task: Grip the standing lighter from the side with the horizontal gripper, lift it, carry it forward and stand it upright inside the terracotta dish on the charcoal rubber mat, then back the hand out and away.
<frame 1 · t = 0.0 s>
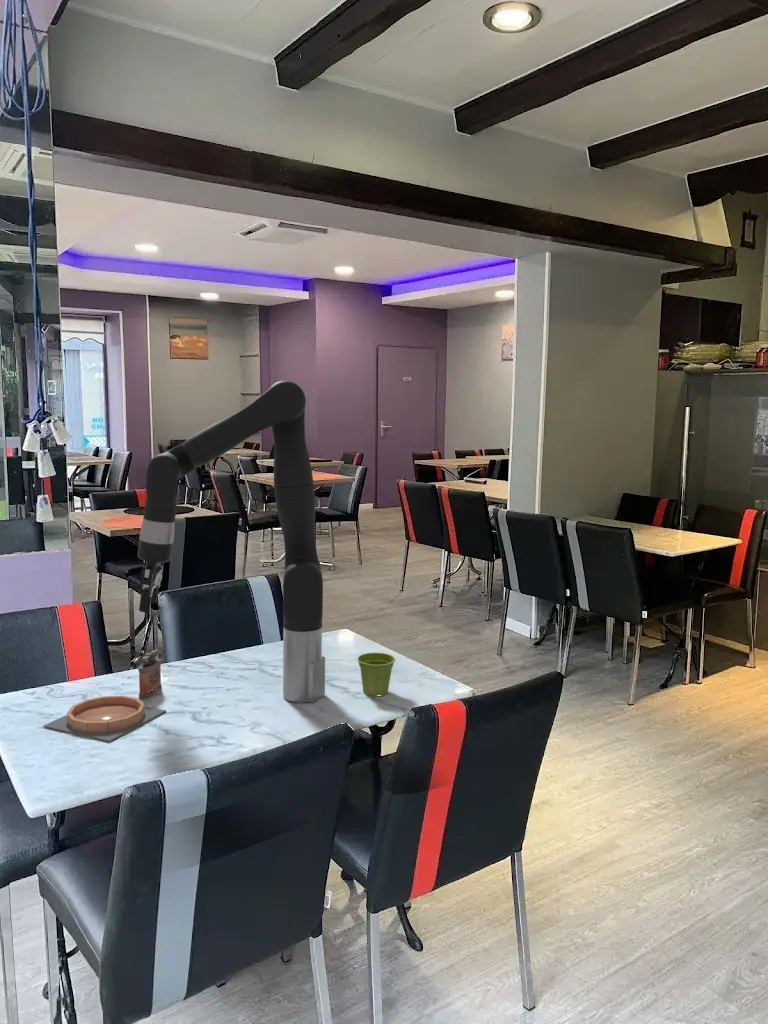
hand: (147, 607, 178), 22 cm above the table, tool pointing down, fingers open, 8 cm apart
mat: (106, 719, 169), on the table
dish: (106, 713, 169), on the mat
lighter: (150, 694, 185), on the table
plant pot: (375, 693, 189), on the table
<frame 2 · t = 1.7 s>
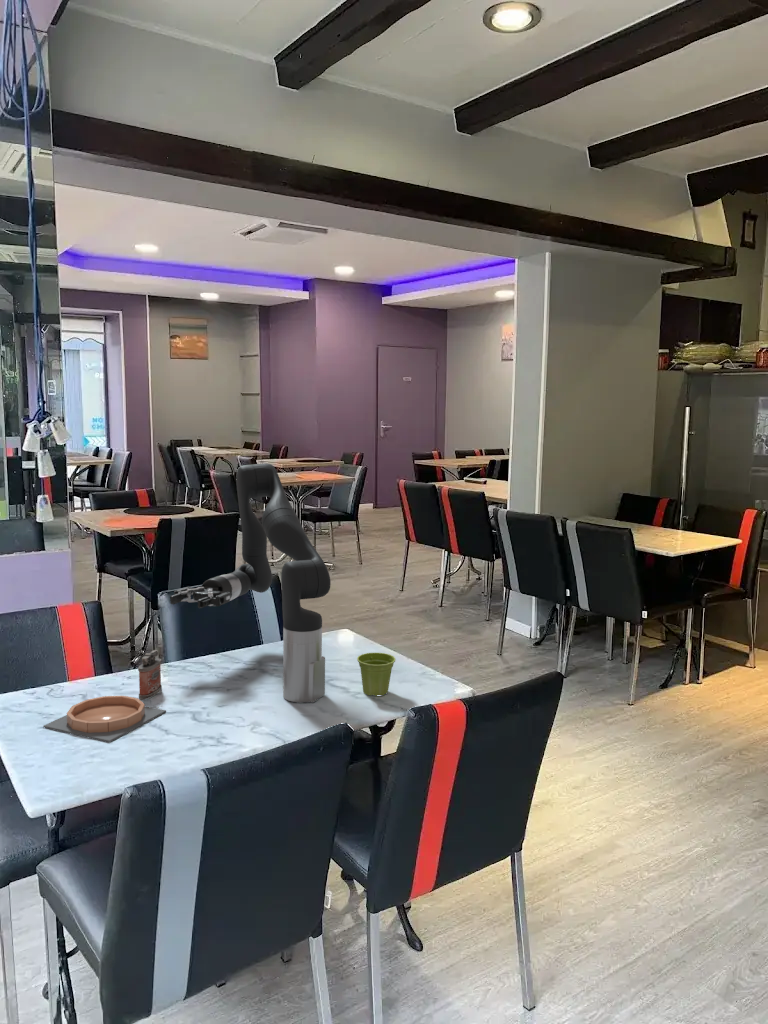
hand: (185, 602, 195), 19 cm above the table, tool horizontal, fingers open, 8 cm apart
nothing on the table moved.
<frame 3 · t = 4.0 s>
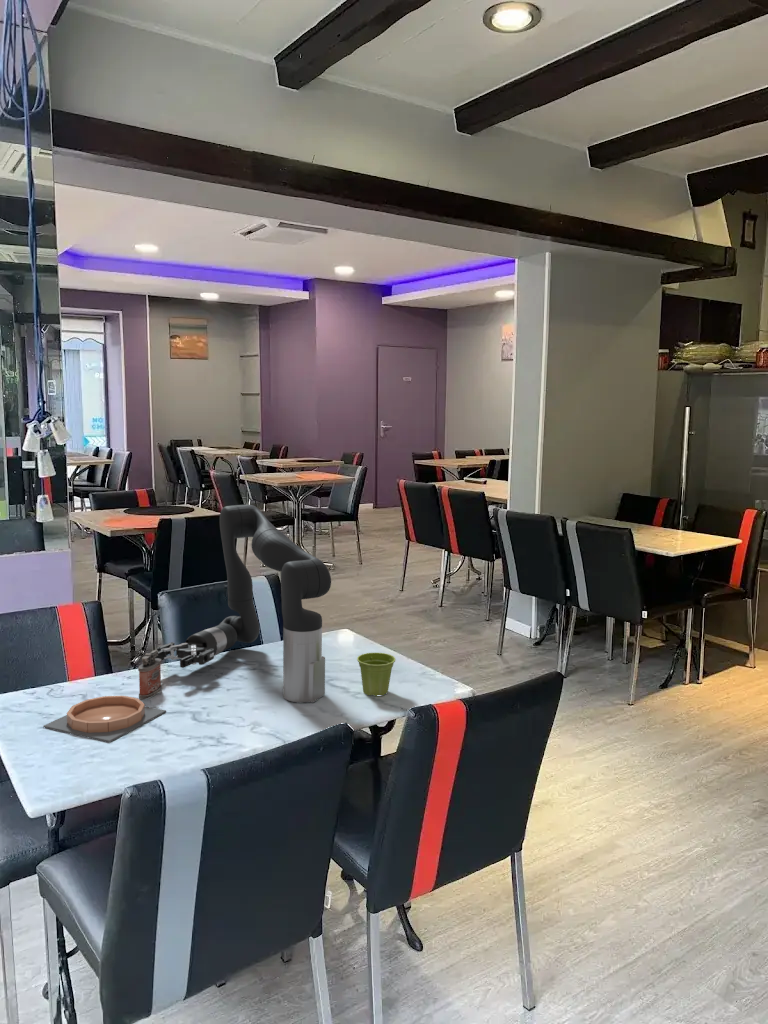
hand: (167, 661, 190), 6 cm above the table, tool horizontal, fingers open, 8 cm apart
nothing on the table moved.
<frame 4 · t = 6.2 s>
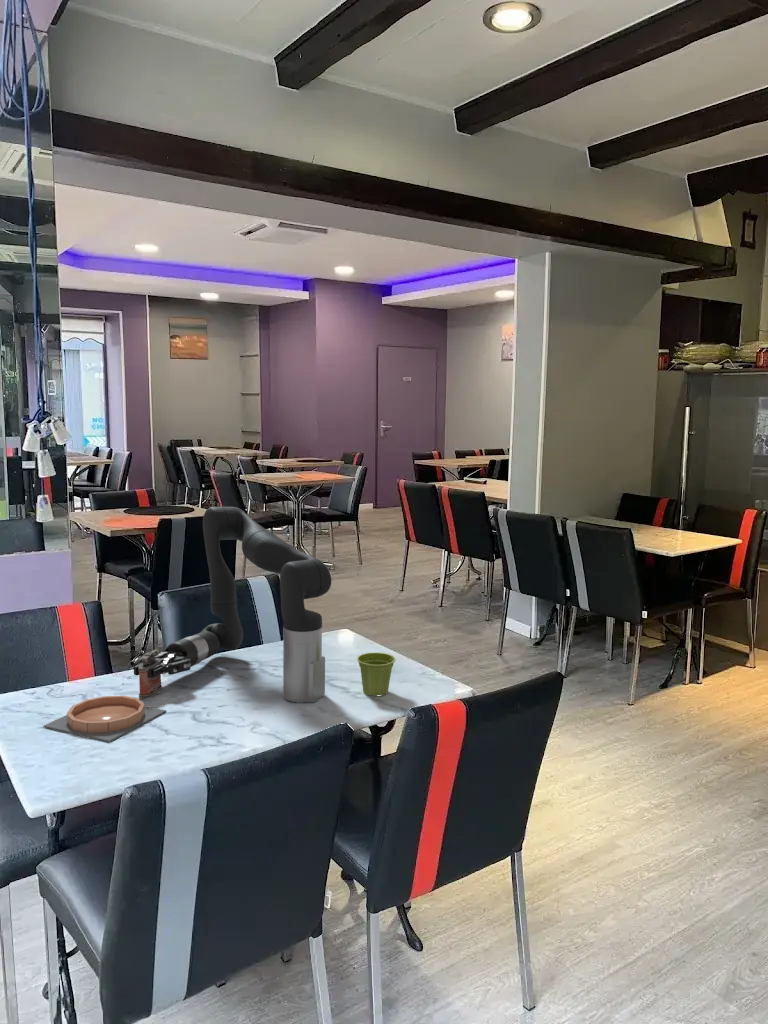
hand: (142, 672, 182), 6 cm above the table, tool horizontal, fingers closed on lighter, 3 cm apart
lighter: (150, 693, 185), on the table, touching gripper
everything else where it was.
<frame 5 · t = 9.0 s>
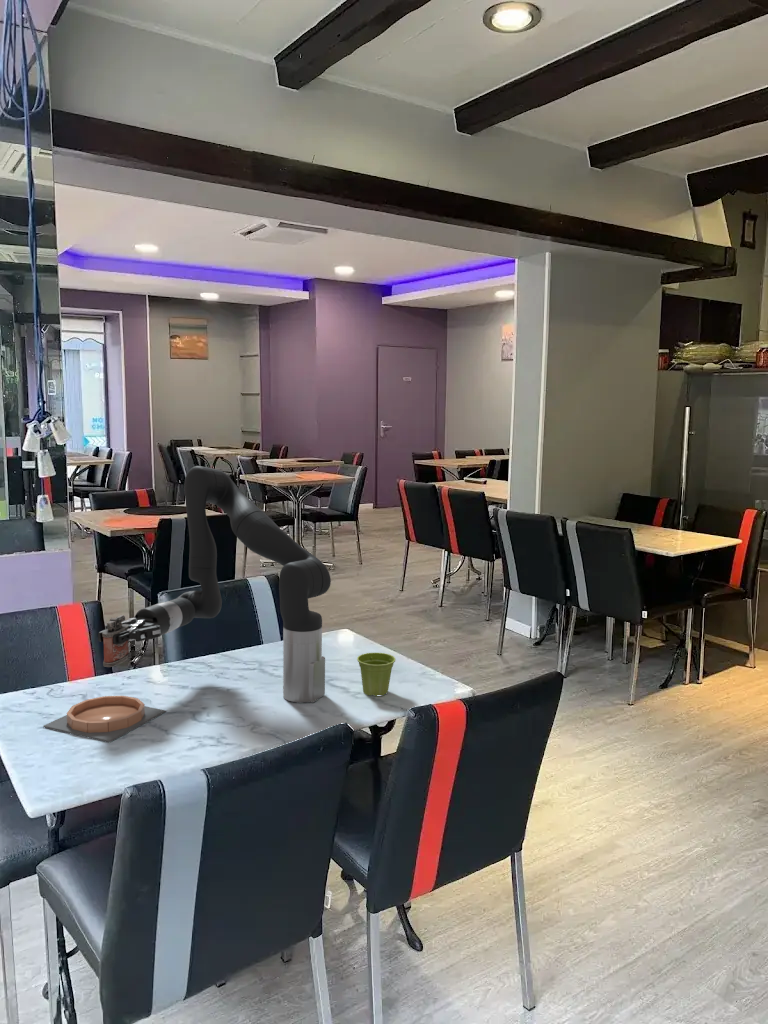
hand: (107, 638, 169), 18 cm above the table, tool horizontal, fingers closed on lighter, 3 cm apart
lighter: (116, 661, 172), point 12 cm above the table, touching gripper
everything else where it was.
when the fingers open (8 cm above the table, at t = 11.6 s): lighter stays where it is, resting on dish.
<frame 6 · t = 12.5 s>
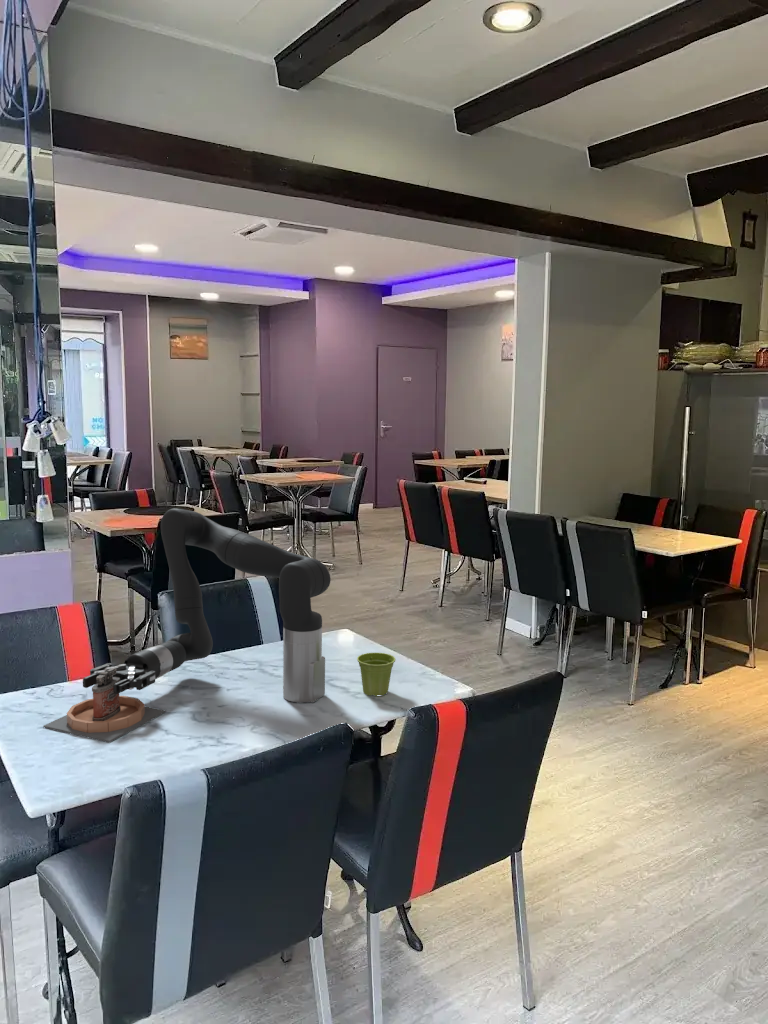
hand: (99, 686, 166), 8 cm above the table, tool horizontal, fingers open, 8 cm apart
lighter: (106, 716, 169), point 1 cm above the table, touching dish
everything else where it was.
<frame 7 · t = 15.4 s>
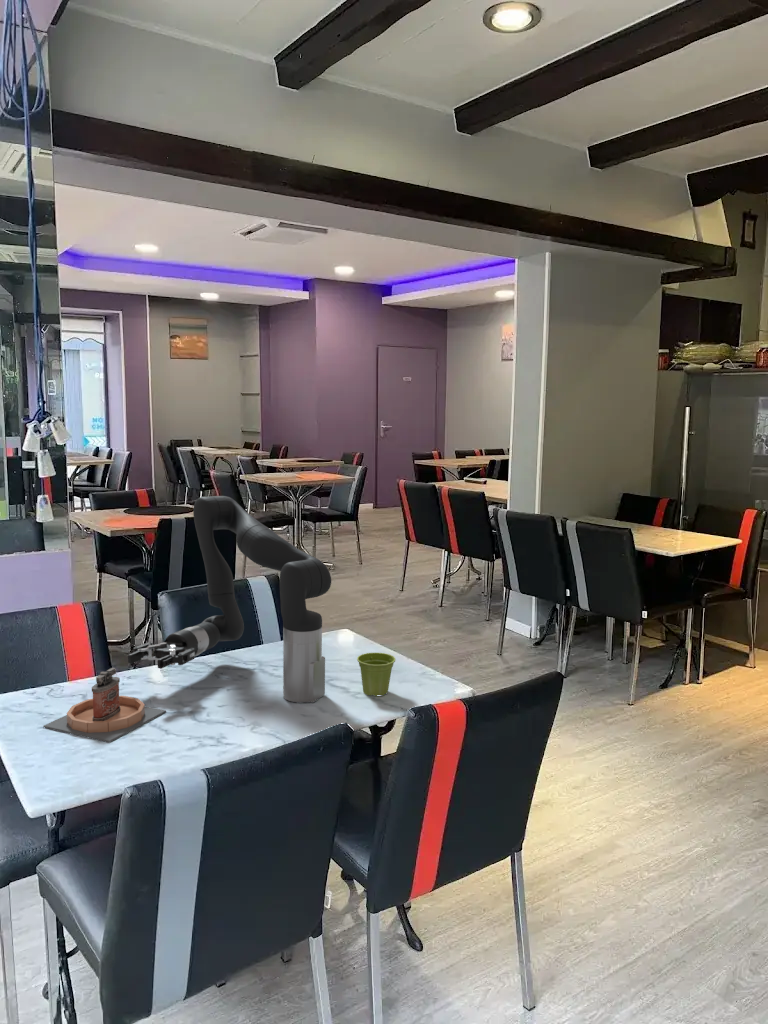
hand: (143, 662, 178), 10 cm above the table, tool horizontal, fingers open, 8 cm apart
nothing on the table moved.
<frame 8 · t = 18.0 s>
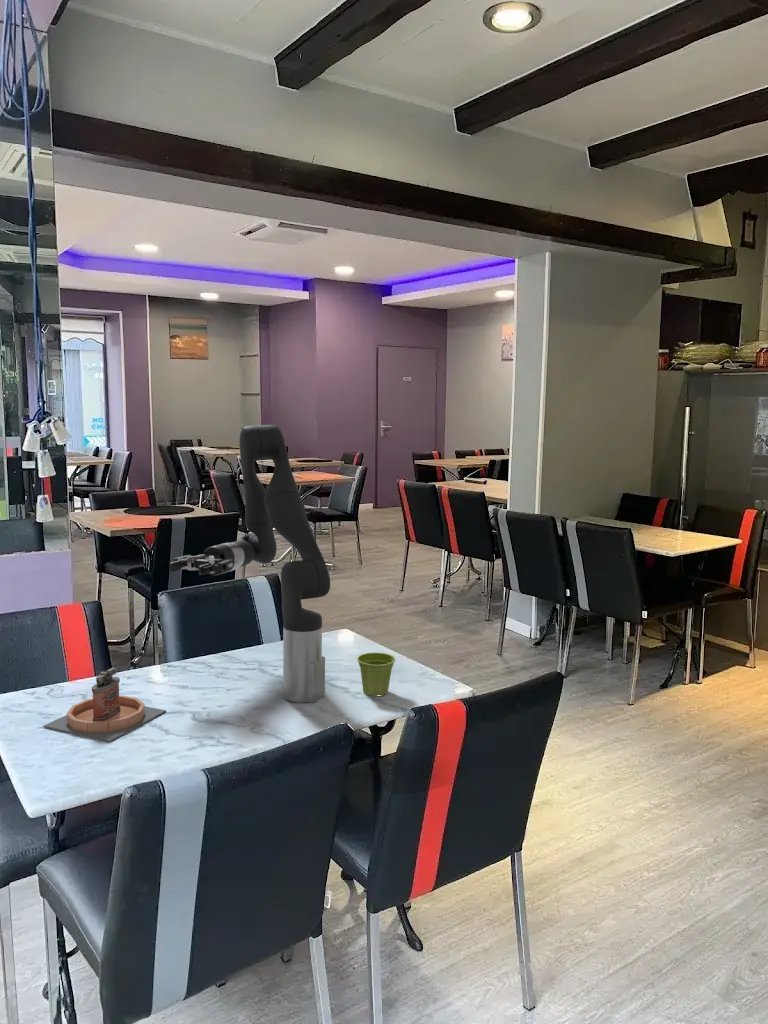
hand: (184, 569, 185), 30 cm above the table, tool horizontal, fingers open, 8 cm apart
nothing on the table moved.
at the end: lighter inside the target area on the dish (0.1 cm from its centre), point 0.7 cm above the dish's base; lighter tilted 0°; the gripper is holding nothing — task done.
